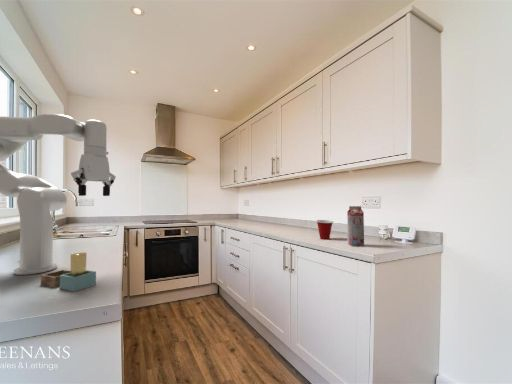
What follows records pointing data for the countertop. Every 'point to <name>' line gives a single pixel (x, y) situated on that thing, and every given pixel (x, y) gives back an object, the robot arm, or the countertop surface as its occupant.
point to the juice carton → (355, 226)
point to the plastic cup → (324, 228)
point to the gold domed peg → (78, 264)
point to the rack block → (77, 281)
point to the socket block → (52, 278)
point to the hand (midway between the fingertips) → (94, 195)
